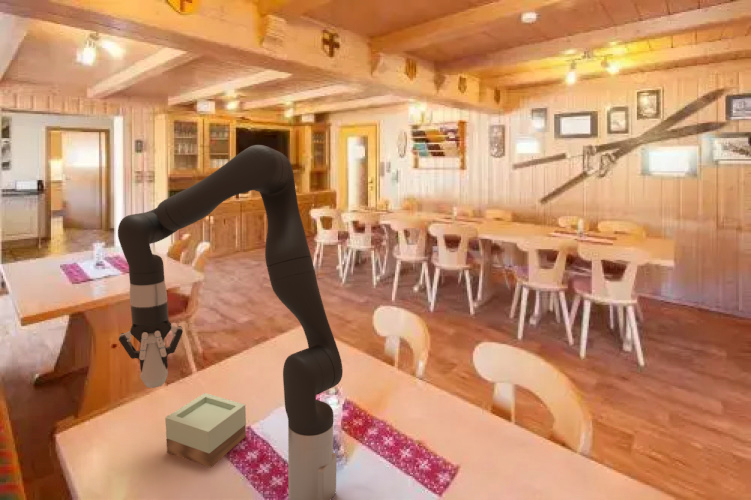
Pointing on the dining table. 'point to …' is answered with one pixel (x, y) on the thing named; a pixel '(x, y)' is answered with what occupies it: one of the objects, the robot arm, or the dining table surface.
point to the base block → (202, 456)
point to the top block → (205, 422)
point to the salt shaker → (153, 364)
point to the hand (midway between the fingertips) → (154, 371)
